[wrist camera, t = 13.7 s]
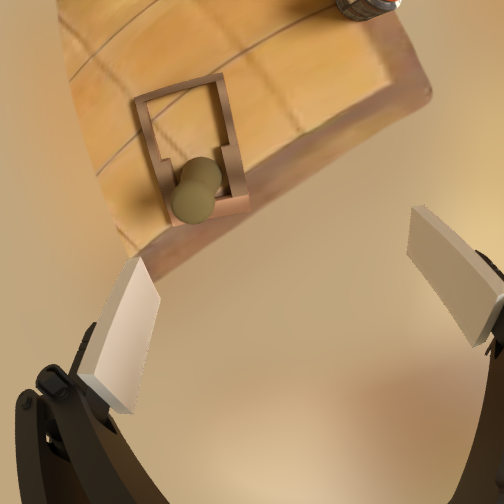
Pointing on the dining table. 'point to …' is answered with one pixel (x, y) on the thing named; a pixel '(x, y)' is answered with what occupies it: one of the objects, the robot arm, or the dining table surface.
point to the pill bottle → (366, 8)
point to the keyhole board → (230, 151)
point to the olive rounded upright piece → (196, 191)
